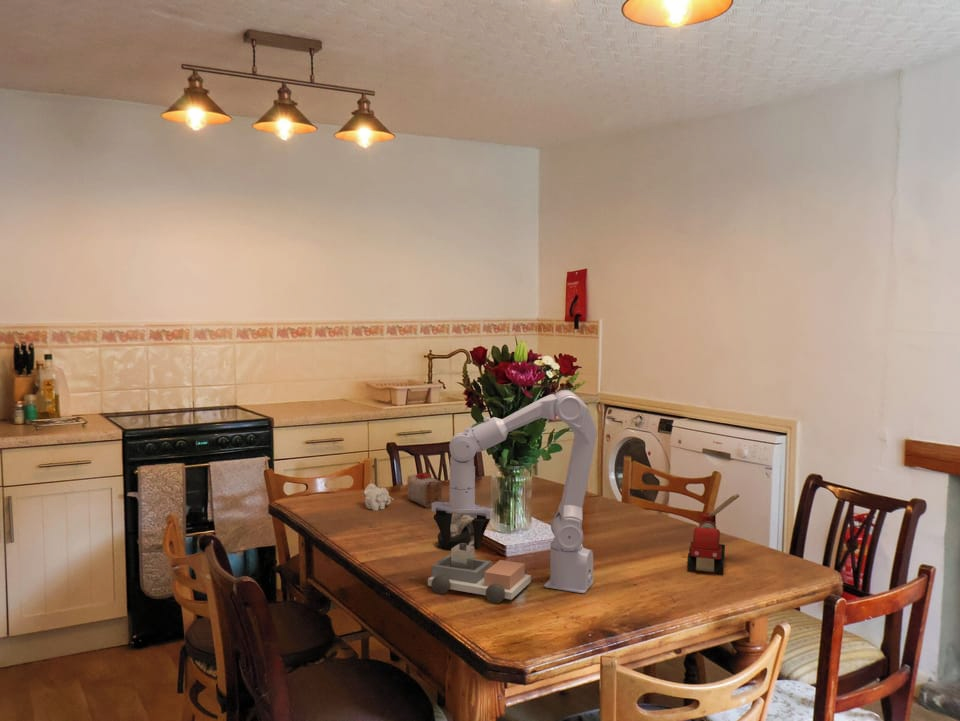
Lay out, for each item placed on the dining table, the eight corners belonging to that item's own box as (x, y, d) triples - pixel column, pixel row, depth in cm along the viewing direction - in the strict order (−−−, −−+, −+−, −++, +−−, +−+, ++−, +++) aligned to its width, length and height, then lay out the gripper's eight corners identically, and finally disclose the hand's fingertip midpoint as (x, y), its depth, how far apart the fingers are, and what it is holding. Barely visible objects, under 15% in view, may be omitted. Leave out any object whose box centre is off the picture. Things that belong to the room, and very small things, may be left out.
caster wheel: (443, 561, 209) (436, 543, 219) (487, 549, 211) (478, 532, 221) (438, 537, 207) (432, 520, 217) (482, 525, 209) (474, 509, 219)
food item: (403, 500, 261) (403, 469, 260) (425, 496, 265) (425, 467, 264) (424, 509, 249) (424, 477, 249) (446, 506, 254) (446, 475, 253)
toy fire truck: (686, 573, 194) (688, 500, 192) (690, 554, 208) (692, 486, 207) (736, 579, 190) (738, 504, 189) (737, 559, 205) (739, 489, 203)
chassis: (532, 584, 185) (533, 560, 185) (509, 606, 172) (509, 580, 172) (453, 571, 193) (453, 549, 193) (425, 591, 180) (425, 567, 180)
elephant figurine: (398, 508, 251) (398, 485, 250) (371, 513, 245) (371, 489, 244) (384, 503, 257) (384, 480, 256) (358, 508, 250) (358, 485, 250)
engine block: (474, 571, 186) (474, 542, 185) (467, 577, 182) (467, 547, 182) (458, 569, 187) (458, 540, 187) (450, 574, 184) (451, 545, 183)
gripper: (498, 486, 183) (498, 545, 184) (441, 480, 189) (441, 537, 190) (486, 493, 177) (486, 554, 178) (427, 486, 183) (427, 545, 184)
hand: (462, 546), depth 184 cm, fingers open, 7 cm apart
